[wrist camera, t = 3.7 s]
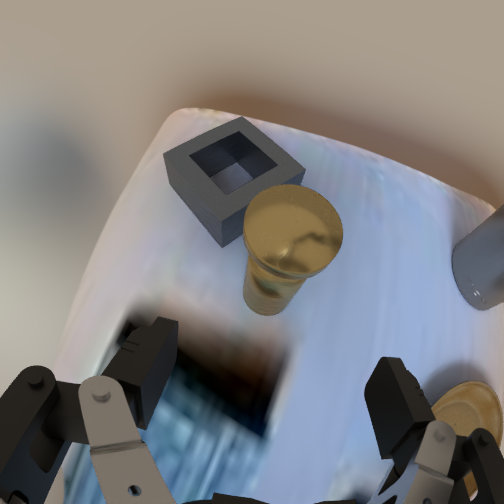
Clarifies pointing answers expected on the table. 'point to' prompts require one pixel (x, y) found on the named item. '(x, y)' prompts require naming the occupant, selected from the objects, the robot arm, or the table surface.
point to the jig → (218, 158)
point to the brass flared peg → (286, 244)
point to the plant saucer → (471, 414)
